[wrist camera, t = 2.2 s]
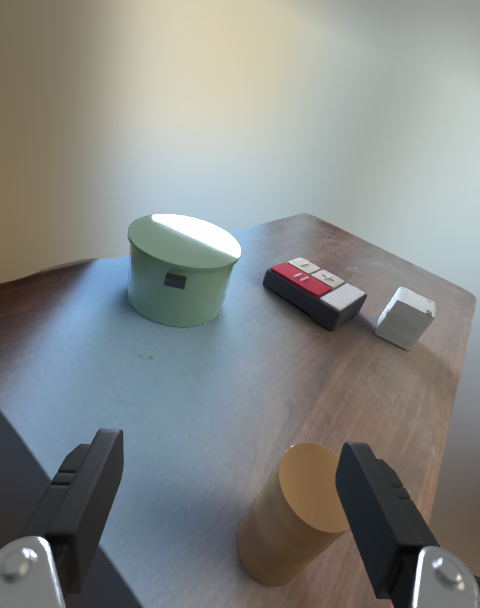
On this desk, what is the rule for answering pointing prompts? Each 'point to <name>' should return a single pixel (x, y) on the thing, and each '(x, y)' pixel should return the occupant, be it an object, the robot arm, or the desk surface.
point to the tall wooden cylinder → (292, 516)
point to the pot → (179, 269)
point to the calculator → (315, 292)
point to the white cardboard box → (405, 318)
